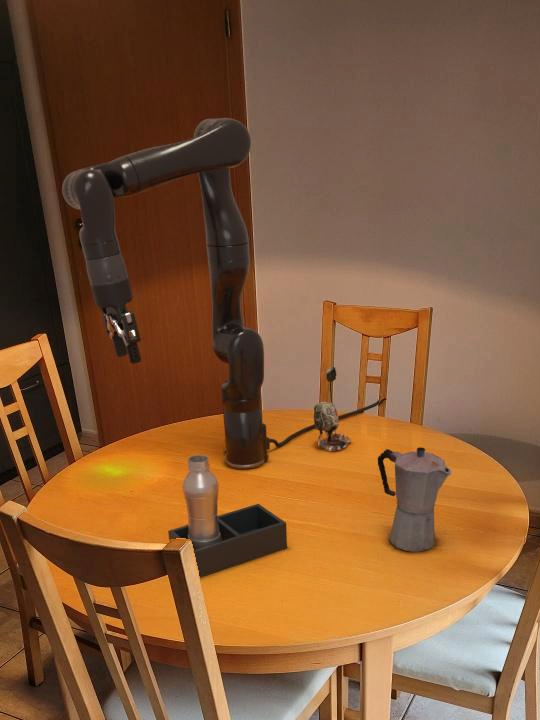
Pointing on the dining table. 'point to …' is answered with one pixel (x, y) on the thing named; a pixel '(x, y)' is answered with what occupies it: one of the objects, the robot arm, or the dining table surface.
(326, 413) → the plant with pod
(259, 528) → the compartment box
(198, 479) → the plastic bottle
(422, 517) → the moka pot
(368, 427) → the dining table surface
